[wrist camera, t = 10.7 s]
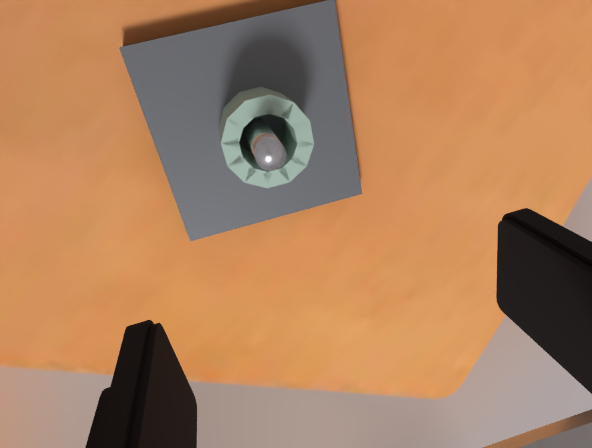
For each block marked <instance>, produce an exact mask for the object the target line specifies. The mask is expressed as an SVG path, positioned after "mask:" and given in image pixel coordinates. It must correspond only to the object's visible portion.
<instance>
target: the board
mask: <svg viewBox="0 0 592 448" xmlns="http://www.w3.org/2000/svg"><path fill="white" fill-rule="evenodd" d="M119 48H120V51H121V54H122V56H123V59H124V62H125V65H126V67H127V70H128V73H129V75H130V78H131V81H132V84H133V86H134V89H135V92H136V94H137V97H138V100H139V103H140V105H141V108H142V111H143V114H144V116H145V119H146V122H147V124H148V127H149V130H150V133H151V135H152V138H153V141H154V143H155V146H156V149H157V152H158V154H159V157H160V160H161V162H162V165H163V168H164V171H165V173H166V176H167V179H168V181H169V184H170V187H171V190H172V192H173V195H174V198H175V200H176V203H177V206H178V209H179V211H180V214H181V217H182V220H183V222H184V225H185V228H186V230H187V233H188V236H189V239H190V241H193V240H196V239H200V238H204V237H207V236H211V235H215V234H218V233H222V232H225V231H229V230H233V229H236V228H240V227H243V226H247V225H251V224H254V223H258V222H262V221H265V220H269V219H272V218H276V217H280V216H283V215H287V214H291V213H294V212H298V211H301V210H305V209H309V208H312V207H316V206H320V205H323V204H327V203H330V202H334V201H338V200H341V199H345V198H349V197H352V196H356V195H359V194H362V190H361V183H360V176H359V169H358V161H357V154H356V147H355V140H354V133H353V126H352V119H351V112H350V105H349V98H348V91H347V83H346V76H345V69H344V62H343V55H342V48H341V41H340V34H339V27H338V20H337V13H336V5H335V0H326V1H322V2H318V3H313V4H309V5H304V6H300V7H296V8H291V9H287V10H282V11H278V12H273V13H269V14H265V15H260V16H256V17H251V18H247V19H243V20H238V21H234V22H229V23H225V24H221V25H216V26H212V27H207V28H203V29H198V30H194V31H190V32H185V33H181V34H176V35H172V36H168V37H163V38H159V39H154V40H150V41H146V42H141V43H137V44H132V45H128V46H123V47H119ZM257 87H264V88H267V89H270V90H273V91H276V92H279V93H282V94H283V95H285V96H286V97H287V98H289V99H290V100H291V101H293V102H294V103H295V104H296V105H297V106H298V108H299V109H300V110H301V111H302V112H303V113H304V114H305V116H306V117H307V118H308V119H309V120H310V124H311V129H312V135H313V140H314V146H313V149H312V152H311V155H310V158H309V161H308V164H307V167H306V168H304V169H303V170H302V171H301V172H300V173H299V174H298V175H297V176H296V177H295V178H294V179H293V180H292V181H291V182H289V183H285V184H282V185H278V186H274V187H270V188H264V187H260V186H256V185H252V184H248V183H244V182H243V181H242V180H241V179H240V178H239V177H238V176H237V175H236V174H235V173H234V172H233V171H232V170H231V169H230V168H229V167H228V166H227V163H226V160H225V156H224V153H223V149H222V146H221V142H220V136H219V129H218V128H219V124H220V120H221V116H222V112H223V108H224V107H225V106H226V105H227V104H228V103H229V102H230V101H231V100H232V99H233V98H234V97H235V96H236V95H237V94H238V93H239V92H240V91H244V90H249V89H253V88H257ZM254 118H261V119H263V120H264V121H265V122H266V123H267V124H268V126H269V127H270V128H271V130H272V131H273V133H274V134H275V135H276V137H277V138H278V139H279V141H280V142H281V141H282V138H283V134H284V131H285V128H284V123H283V118H282V117H279V116H276V115H272V114H266V115H262V116H258V117H254ZM239 144H240V145H241V146H242V147H243V148H244V149H245V150H246V151H249V152H252V150H251V148H250V145H249V143H248V141H247V138H246V136H245V133H244V128H243V130H242V134H241V138H240V141H239ZM252 153H253V152H252Z"/></svg>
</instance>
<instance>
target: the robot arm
mask: <svg viewBox="0 0 592 448" xmlns="http://www.w3.org/2000/svg"><path fill="white" fill-rule="evenodd" d="M497 303H498V305H499V307H500V309H501V310H502V311H503V312H504V313H505V314H506V315H507V316H508V317H509V318H510V319H511V320H512V321H513V322H515V324H517V325H518V326H519V327H520V328H521V329H522V330H523V331H524V332H525V333H526V334H527V335H529V336H530V337H531V338H532V339H533V340H534V341H535V342H536V343H537V344H538V345H539V346H541V347H542V348H543V349H544V350H545V351H546V352H547V353H548V354H549V355H550V356H551V357H552V358H553V359H555V360H556V361H557V362H558V363H559V364H560V365H561V366H562V367H563V368H565V370H567V371H568V372H569V373H570V374H571V375H572V376H573V377H574V378H575V379H576V380H577V381H579V382H580V383H581V384H582V385H583V386H584V387H585V388H586V389H587V390H588V391H589V392H590V393H592V242H591V241H589V240H587V239H585V238H583V237H581V236H579V235H578V234H576V233H574V232H572V231H570V230H568V229H566V228H564V227H562V226H561V225H559V224H557V223H555V222H553V221H551V220H549V219H547V218H546V217H544V216H542V215H540V214H538V213H536V212H534V211H532V210H531V209H528V208H525V209H521V210H518V211H514V212H511V213H507V214H505V215H504V216H503V218H502V221H500V222H499V224H498V251H497ZM196 436H197V404H196V400H195V396H194V394H193V391H192V389H191V387H190V385H189V383H188V381H187V378H186V376H185V374H184V372H183V370H182V368H181V365H180V363H179V361H178V359H177V357H176V355H175V352H174V350H173V348H172V346H171V344H170V342H169V339H168V337H167V335H166V333H165V331H164V329H163V327H162V325H161V324H160V323H157V324H154V323H153V322H152V321H151V320H147V321H144V322H140V323H137V324H134V325H130V326H128V327H126V330H125V333H124V337H123V341H122V345H121V349H120V352H119V356H118V360H117V364H116V368H115V372H114V376H113V380H112V383H111V387H109V388H106V389H104V390H103V391H102V393H101V396H100V398H99V402H98V405H97V409H96V412H95V416H94V419H93V423H92V426H91V430H90V434H89V437H88V441H87V445H86V448H196V444H197V439H196V438H197V437H196ZM483 448H592V410H589V411H586V412H583V413H580V414H577V415H574V416H572V417H569V418H566V419H563V420H560V421H557V422H555V423H551V424H549V425H546V426H543V427H540V428H537V429H534V430H531V431H528V432H526V433H523V434H520V435H518V436H514V437H511V438H509V439H506V440H503V441H500V442H497V443H494V444H492V445H489V446H486V447H483Z"/></svg>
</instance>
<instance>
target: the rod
mask: <svg viewBox="0 0 592 448" xmlns="http://www.w3.org/2000/svg"><path fill="white" fill-rule="evenodd" d="M244 133H245V136H246V138H247V141H248V143H249V145H250V148H251V150H252V152H253V155H254V157H255V159H256V162H257V164H258V165H259V166H260V167H261V168H262V169H264V170H267V171H274V170H277V169H279V168H280V167H281V166H282V165H283V164H284V162H285V160H286V150H285V148H284V146H283V145H282V143H281V142H280V141H279V139H278V138H277V137H276V135H275V134H274V133H273V131H272V130H271V128H270V127H269V126H268V124H267V123H266V122H265V121H264V120H263V119H261V118H253V119H252V120H251V121H250V122H249V123H248V124H247V125H246V126H245V127H244Z"/></svg>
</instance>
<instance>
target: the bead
mask: <svg viewBox="0 0 592 448" xmlns="http://www.w3.org/2000/svg"><path fill="white" fill-rule="evenodd" d="M266 114H272V115H276V116H279V117H282V118H283V123H284V128H285V131H284V134H283V138H282V141H281V143H282V145H283V146H284V148H285V150H286V160H285V162H284V164H283V165H282V166H281V167H280V168H279V169H277V170H274V171H267V170H264V169H262V168H261V167H260V166H259V165H258V164H257V162H256V159H255V157H254V155H253V153H252V152H249V151H246V150H245V149H244V148H243V147H242V146H241V145H240V144H239V141H240V138H241V134H242V130H243V128H244V127H245V126H246V125H247V124H248V123H249V122H250V121H251V120H252V119H253V118H254V117H258V116H262V115H266ZM218 129H219V136H220V142H221V146H222V149H223V153H224V156H225V160H226V163H227V166H228V167H229V168H230V169H231V170H232V171H233V172H234V173H235V174H236V175H237V176H238V177H239V178H240V179H241V180H242V181H243V182H244V183H248V184H252V185H256V186H260V187H264V188H270V187H274V186H278V185H282V184H285V183H289V182H291V181H292V180H293V179H294V178H295V177H296V176H297V175H298V174H299V173H300V172H301V171H302V170H303V169H304V168H306V167H307V164H308V161H309V158H310V155H311V152H312V149H313V146H314V140H313V135H312V129H311V124H310V120H309V119H308V118H307V117H306V116H305V114H304V113H303V112H302V111H301V110H300V109H299V108H298V106H297V105H296V104H295V103H294V102H293V101H291V100H290V99H289V98H287V97H286V96H285V95H283V94H282V93H279V92H276V91H273V90H270V89H267V88H264V87H257V88H253V89H249V90H244V91H240V92H239V93H238V94H237V95H236V96H235V97H234V98H233V99H232V100H231V101H230V102H229V103H228V104H227V105H226V106H225V107H224V108H223V112H222V116H221V120H220V124H219V128H218Z"/></svg>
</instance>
